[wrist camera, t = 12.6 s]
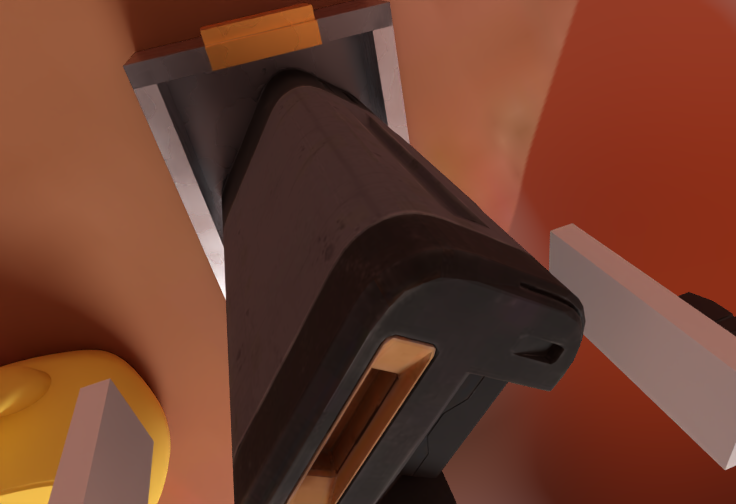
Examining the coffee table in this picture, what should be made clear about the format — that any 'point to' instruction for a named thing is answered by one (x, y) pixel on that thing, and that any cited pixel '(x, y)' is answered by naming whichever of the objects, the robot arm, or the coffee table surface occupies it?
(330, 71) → the rack
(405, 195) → the electronic device
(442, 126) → the coffee table surface
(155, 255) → the coffee table surface
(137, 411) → the teapot
